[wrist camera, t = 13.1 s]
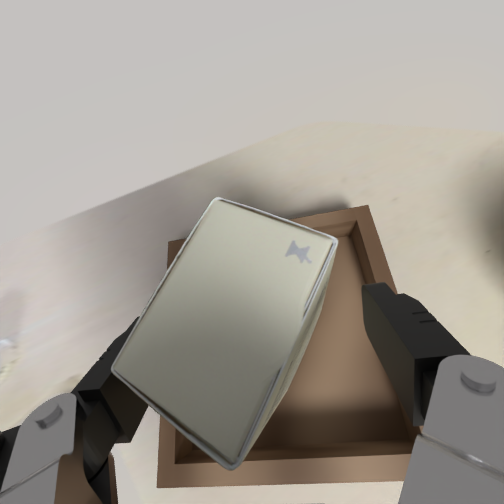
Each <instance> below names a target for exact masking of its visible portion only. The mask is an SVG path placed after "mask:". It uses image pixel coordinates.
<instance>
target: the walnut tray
mask: <svg viewBox="0 0 504 504" xmlns="http://www.w3.org/2000/svg"><path fill="white" fill-rule="evenodd" d="M289 220H290V221H293V222H295V223H298V224H300V225H304V226H307V227H309V228H312V229H314V230H316V231H319V232H322V233H325V234H328V235H331V236H333V237H335V238H337V240H338V246H337V250H336V254H335V258H334V262H333V266H332V270H331V274H330V278H329V282H328V286H327V290H326V294H325V298H324V302H323V306H322V310H321V313H320V316H319V318H318V321H317V323H316V326H315V328H314V331H313V333H312V336H311V338H310V341H309V343H308V346H307V348H306V350H305V353H304V355H303V357H302V360H301V362H300V364H299V367H298V369H297V371H296V373H295V375H294V378H293V380H292V382H291V384H290V386H289V388H288V390H287V392H286V393H285V395H284V397H283V398H282V400H281V401H280V403H279V405H278V406H277V408H276V409H275V411H274V413H273V414H272V416H271V417H270V419H269V421H268V422H267V424H266V425H265V427H264V429H263V430H262V432H261V433H260V435H259V437H258V438H257V440H256V441H255V443H254V445H253V446H252V448H251V449H250V451H249V453H248V454H247V456H246V457H245V459H244V460H243V462H242V463H241V465H240V466H239V467H238V468H236V469H235V470H226V469H225V468H223V467H222V466H221V465H219V464H218V463H217V462H216V461H214V460H213V459H212V458H211V457H210V456H208V455H207V454H206V453H205V452H204V451H202V450H201V449H200V448H199V447H197V446H196V445H195V444H194V443H192V442H191V441H190V440H189V439H187V438H186V437H185V436H184V435H183V434H182V433H181V432H179V431H178V430H177V429H176V428H175V427H174V426H172V425H171V424H170V423H169V422H168V421H167V420H165V419H164V418H163V417H162V416H161V415H160V429H159V450H158V471H157V488H179V487H213V486H248V485H282V484H316V483H351V482H385V481H404V480H405V476H406V472H407V469H408V465H409V461H410V457H411V454H412V450H413V446H414V443H415V440H416V437H417V435H418V433H420V434H421V433H422V430H423V427H424V426H413V425H412V423H411V421H410V419H409V417H408V415H407V413H406V411H405V409H404V407H403V405H402V403H401V401H400V399H399V397H398V395H397V393H396V391H395V389H394V387H393V386H392V384H391V382H390V380H389V378H388V376H387V374H386V372H385V370H384V368H383V366H382V364H381V362H380V360H379V358H378V356H377V354H376V352H375V350H374V348H373V346H372V344H371V342H370V340H369V338H368V336H367V333H366V330H365V326H364V321H363V306H362V292H361V288H362V285H365V284H372V283H379V282H385V283H386V284H387V285H388V286H389V287H390V288H391V289H392V291H393V292H394V293H395V294H398V293H397V290H396V287H395V284H394V281H393V278H392V275H391V272H390V269H389V266H388V263H387V260H386V257H385V254H384V251H383V248H382V245H381V242H380V239H379V236H378V233H377V230H376V227H375V224H374V221H373V218H372V215H371V212H370V209H369V206H368V205H365V206H360V207H354V208H349V209H344V210H338V211H333V212H327V213H322V214H316V215H311V216H306V217H300V218H295V219H289ZM186 239H187V238H186ZM186 239H181V240H175V241H170V242H168V262H167V270H168V268H169V267H170V265H171V264H172V262H173V261H174V259H175V257H176V255H177V254H178V252H179V251H180V249H181V247H182V246H183V244H184V242H185V241H186Z"/></svg>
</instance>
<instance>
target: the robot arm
mask: <svg viewBox="0 0 504 504" xmlns="http://www.w3.org/2000/svg"><path fill="white" fill-rule="evenodd" d="M361 292H362V306H363V321H364V326H365V330H366V333H367V336H368V338H369V340H370V342H371V344H372V346H373V348H374V350H375V352H376V354H377V356H378V358H379V360H380V362H381V364H382V366H383V368H384V370H385V372H386V374H387V376H388V378H389V380H390V382H391V384H392V386H393V387H394V389H395V391H396V393H397V395H398V397H399V399H400V401H401V403H402V405H403V407H404V409H405V411H406V413H407V415H408V417H409V419H410V421H411V423H412V425H413V426H424V427H423V430H422V433H421V434H420V433H418V435H417V437H416V440H415V443H414V446H413V450H412V454H411V457H410V461H409V465H408V469H407V472H406V476H405V480H404V484H403V487H402V491H401V495H400V499H399V502H398V504H504V368H503V367H501V366H499V365H497V364H495V363H494V362H491V361H489V360H486V359H483V358H480V357H476V356H471V355H470V353H469V352H468V351H467V350H466V349H465V348H464V347H463V346H462V345H461V344H460V343H459V342H458V341H457V340H456V339H455V338H454V337H453V336H452V335H451V334H450V333H449V332H448V331H447V330H446V329H445V328H444V327H443V326H442V325H441V324H440V323H439V322H437V320H436V318H435V317H434V316H433V315H432V314H431V313H429V312H428V310H427V309H426V308H425V307H424V306H423V305H422V304H421V303H420V302H419V301H418V300H416V299H414V298H412V297H410V296H408V295H406V294H404V293H403V294H395V293H394V292H393V291H392V289H391V288H390V287H389V286H388V285H387V284H386V283H385V282H379V283H372V284H365V285H362V288H361ZM139 317H140V316H139ZM139 317H137V318H136V319H135V320H134V322H133V323H132V324H131V325H130V327H129V328H128V329H127V330H126V331H125V332H124V333H123V334H121V335H120V336H119V337H118V338H116V339H115V340H114V341H113V343H112V344H111V345H110V346H109V347H108V349H107V351H106V352H104V353H103V355H102V356H101V357H100V358H99V361H97V362H96V363H95V364H94V365H93V367H92V368H91V369H90V370H89V371H88V373H87V374H86V375H85V376H84V377H83V379H82V380H81V381H80V382H79V383H78V385H77V386H76V387H75V388H74V389H73V391H72V392H71V393H65V394H61V395H58V396H56V397H54V398H52V399H50V400H48V401H46V402H45V403H43V404H42V405H40V406H39V407H38V408H37V409H35V410H34V411H33V412H32V413H31V414H30V415H29V416H28V417H27V418H26V419H25V421H24V422H23V423H22V425H20V426H17V427H14V428H12V429H9V430H6V431H3V432H1V431H0V504H118V497H117V488H116V487H117V486H116V476H115V465H114V457H113V455H112V453H111V452H110V451H111V449H112V447H113V446H114V444H115V443H130V442H131V440H132V438H133V436H134V434H135V432H136V430H137V428H138V426H139V424H140V422H141V420H142V418H143V416H144V414H145V412H146V410H147V408H148V404H147V403H146V402H145V401H144V400H143V399H141V398H140V397H139V396H138V395H137V394H135V393H134V392H133V391H132V390H131V389H130V388H129V387H128V386H127V385H126V384H125V383H123V382H122V381H121V380H120V379H119V378H117V377H116V376H115V375H114V374H113V373H112V372H111V367H112V364H113V363H114V361H115V359H116V358H117V356H118V354H119V352H120V351H121V349H122V347H123V346H124V344H125V342H126V340H127V338H128V336H129V335H130V333H131V331H132V330H133V328H134V326H135V324H136V323H137V321H138V319H139Z"/></svg>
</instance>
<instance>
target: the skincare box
mask: <svg viewBox="0 0 504 504" xmlns="http://www.w3.org/2000/svg"><path fill="white" fill-rule="evenodd" d="M337 246H338V240H337V238H335V237H333V236H331V235H328V234H325V233H322V232H319V231H316V230H314V229H312V228H309V227H307V226H304V225H300V224H298V223H295V222H293V221H290V220H287V219H285V218H282V217H279V216H276V215H273V214H270V213H268V212H265V211H262V210H259V209H256V208H253V207H250V206H248V205H244V204H241V203H237V202H233V201H230V200H227V199H224V198H221V197H216V198H214V199H213V200H212V201H211V203H210V205H209V206H208V208H207V209H206V210H205V212H204V213H203V215H202V216H201V218H200V219H199V221H198V222H197V224H196V225H195V227H194V228H193V230H192V232H191V233H190V235H189V236H188V238H187V239H186V241H185V242H184V244H183V246H182V247H181V249H180V251H179V252H178V254H177V255H176V257H175V259H174V261H173V262H172V264H171V265H170V267H169V268H168V270H167V272H166V273H165V275H164V277H163V279H162V280H161V282H160V284H159V285H158V287H157V289H156V290H155V292H154V294H153V295H152V297H151V299H150V300H149V302H148V304H147V306H146V307H145V309H144V310H143V312H142V314H141V316H140V317H139V319H138V321H137V323H136V324H135V326H134V328H133V330H132V331H131V333H130V335H129V336H128V338H127V340H126V342H125V344H124V346H123V347H122V349H121V351H120V352H119V354H118V356H117V358H116V359H115V361H114V363H113V364H112V367H111V372H112V373H113V374H114V375H115V376H116V377H117V378H119V379H120V380H121V381H122V382H123V383H125V384H126V385H127V386H128V387H129V388H130V389H131V390H132V391H133V392H134V393H135V394H137V395H138V396H139V397H140V398H141V399H143V400H144V401H145V402H146V403H147V404H148V405H149V406H150V407H151V408H153V409H154V411H155V412H157V413H158V414H159V415H161V416H162V417H163V418H164V419H165V420H167V421H168V422H169V423H170V424H171V425H172V426H174V427H175V428H176V429H177V430H178V431H179V432H181V433H182V434H183V435H184V436H185V437H186V438H187V439H189V440H190V441H191V442H192V443H194V444H195V445H196V446H197V447H199V448H200V449H201V450H202V451H204V452H205V453H206V454H207V455H208V456H210V457H211V458H212V459H213V460H214V461H216V462H217V463H218V464H219V465H221V466H222V467H223V468H225V469H226V470H235V469H236V468H238V467H239V466H240V465H241V463H242V462H243V460H244V459H245V457H246V456H247V454H248V453H249V451H250V449H251V448H252V446H253V445H254V443H255V441H256V440H257V438H258V437H259V435H260V433H261V432H262V430H263V429H264V427H265V425H266V424H267V422H268V421H269V419H270V417H271V416H272V414H273V413H274V411H275V409H276V408H277V406H278V405H279V403H280V401H281V400H282V398H283V397H284V395H285V393H286V392H287V390H288V388H289V386H290V384H291V382H292V380H293V378H294V375H295V373H296V371H297V369H298V367H299V364H300V362H301V360H302V357H303V355H304V353H305V350H306V348H307V346H308V343H309V341H310V338H311V336H312V333H313V331H314V328H315V326H316V323H317V321H318V318H319V316H320V313H321V310H322V306H323V302H324V298H325V294H326V290H327V286H328V282H329V278H330V274H331V270H332V266H333V262H334V258H335V254H336V250H337Z"/></svg>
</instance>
